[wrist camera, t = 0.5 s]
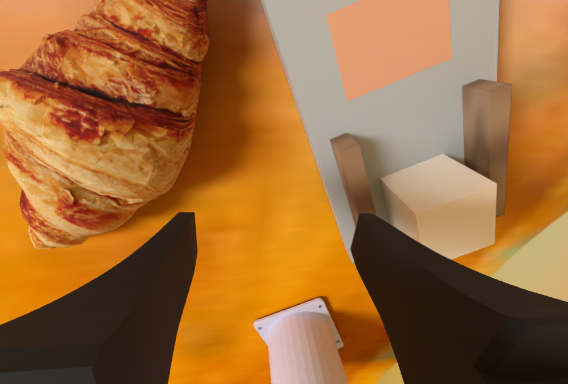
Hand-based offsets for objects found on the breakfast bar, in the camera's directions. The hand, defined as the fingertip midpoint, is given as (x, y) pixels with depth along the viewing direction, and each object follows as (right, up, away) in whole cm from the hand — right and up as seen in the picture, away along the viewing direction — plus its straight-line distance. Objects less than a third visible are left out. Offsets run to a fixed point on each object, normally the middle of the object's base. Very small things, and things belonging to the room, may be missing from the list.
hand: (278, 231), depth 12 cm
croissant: (-11, +6, +7) cm, 15 cm away
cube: (+11, +2, +10) cm, 15 cm away
